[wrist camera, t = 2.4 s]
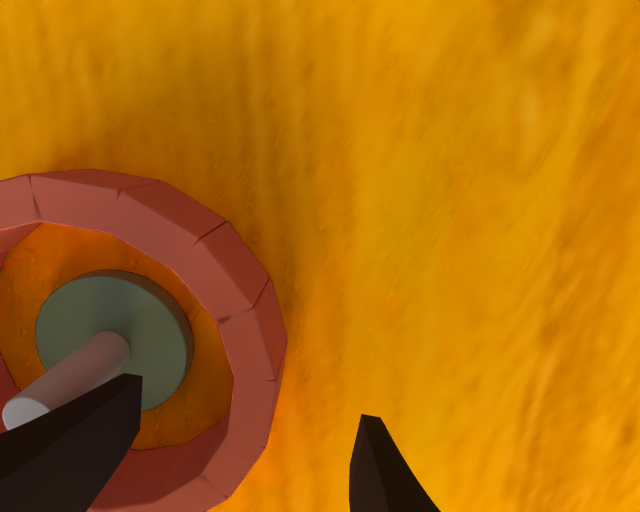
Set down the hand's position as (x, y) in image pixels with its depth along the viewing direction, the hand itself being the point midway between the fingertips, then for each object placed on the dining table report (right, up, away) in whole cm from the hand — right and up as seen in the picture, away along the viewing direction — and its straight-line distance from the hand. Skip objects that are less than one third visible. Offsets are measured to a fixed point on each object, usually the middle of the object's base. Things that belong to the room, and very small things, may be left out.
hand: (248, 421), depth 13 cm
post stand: (-6, +2, +3) cm, 7 cm away
